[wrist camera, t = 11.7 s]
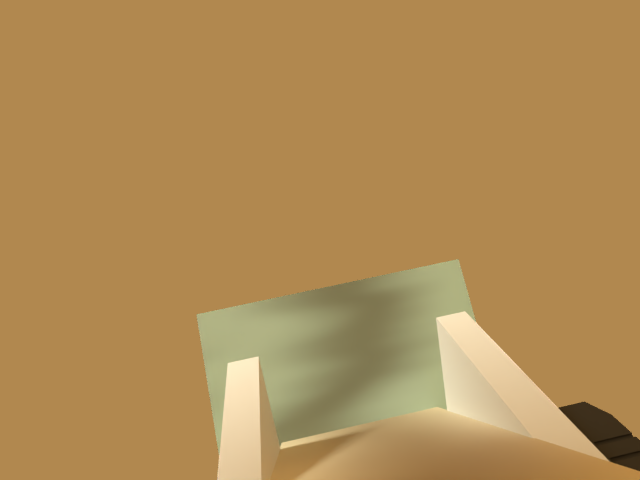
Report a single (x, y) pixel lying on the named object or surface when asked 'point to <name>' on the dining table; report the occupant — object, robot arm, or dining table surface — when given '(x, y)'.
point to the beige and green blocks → (374, 386)
